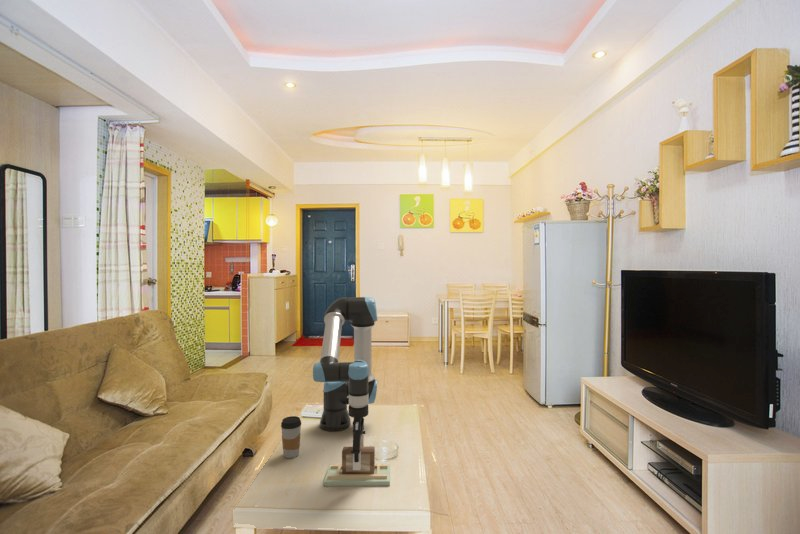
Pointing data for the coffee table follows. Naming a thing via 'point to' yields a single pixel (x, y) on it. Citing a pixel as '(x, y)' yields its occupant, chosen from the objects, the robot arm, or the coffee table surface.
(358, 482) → the mint cabinet door
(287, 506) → the coffee table surface
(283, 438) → the coffee cup
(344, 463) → the brown wooden picture frame
